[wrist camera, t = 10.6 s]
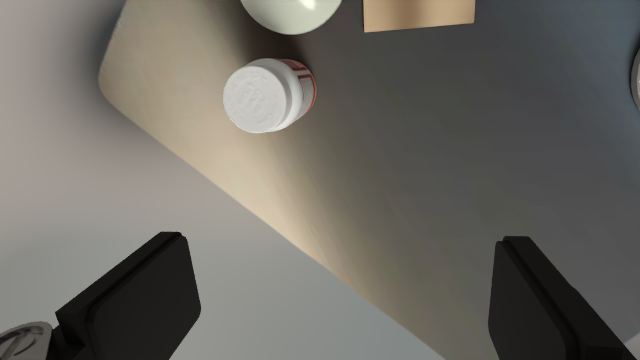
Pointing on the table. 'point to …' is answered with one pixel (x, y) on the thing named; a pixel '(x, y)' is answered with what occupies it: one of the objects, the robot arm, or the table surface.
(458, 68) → the table surface
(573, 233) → the table surface
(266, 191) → the table surface
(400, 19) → the mat
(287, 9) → the lid
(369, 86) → the table surface
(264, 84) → the pill bottle
